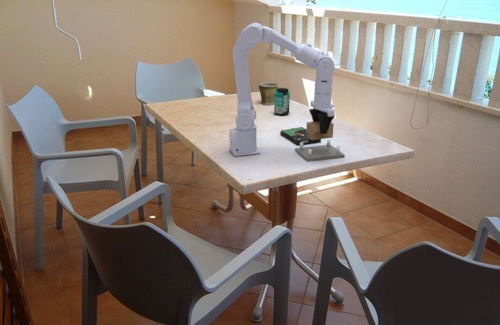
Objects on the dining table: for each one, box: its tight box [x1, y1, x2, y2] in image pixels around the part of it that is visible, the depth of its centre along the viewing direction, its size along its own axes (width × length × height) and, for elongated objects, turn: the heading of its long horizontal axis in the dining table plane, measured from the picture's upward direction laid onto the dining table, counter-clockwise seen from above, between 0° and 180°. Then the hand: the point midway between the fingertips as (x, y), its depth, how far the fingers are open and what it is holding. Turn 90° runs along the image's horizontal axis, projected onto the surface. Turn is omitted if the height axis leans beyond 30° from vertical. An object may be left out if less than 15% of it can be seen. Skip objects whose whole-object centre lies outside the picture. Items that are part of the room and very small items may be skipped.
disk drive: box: [279, 126, 322, 147], centre depth 162 cm, size 10×3×15 cm
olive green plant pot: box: [258, 82, 279, 106], centre depth 215 cm, size 13×10×10 cm
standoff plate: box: [294, 139, 346, 162], centre depth 146 cm, size 14×11×4 cm
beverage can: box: [273, 87, 291, 117], centre depth 194 cm, size 7×7×12 cm
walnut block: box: [305, 121, 334, 140], centre depth 143 cm, size 8×4×5 cm, turn 106°
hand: (320, 131), depth 143 cm, fingers closed on walnut block, 4 cm apart
